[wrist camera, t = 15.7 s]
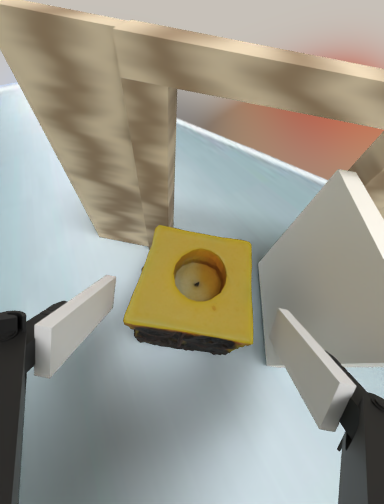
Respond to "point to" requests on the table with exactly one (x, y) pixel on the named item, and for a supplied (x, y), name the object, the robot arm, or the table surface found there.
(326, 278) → the door
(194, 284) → the candle
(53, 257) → the table surface
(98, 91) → the door frame
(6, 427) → the robot arm
